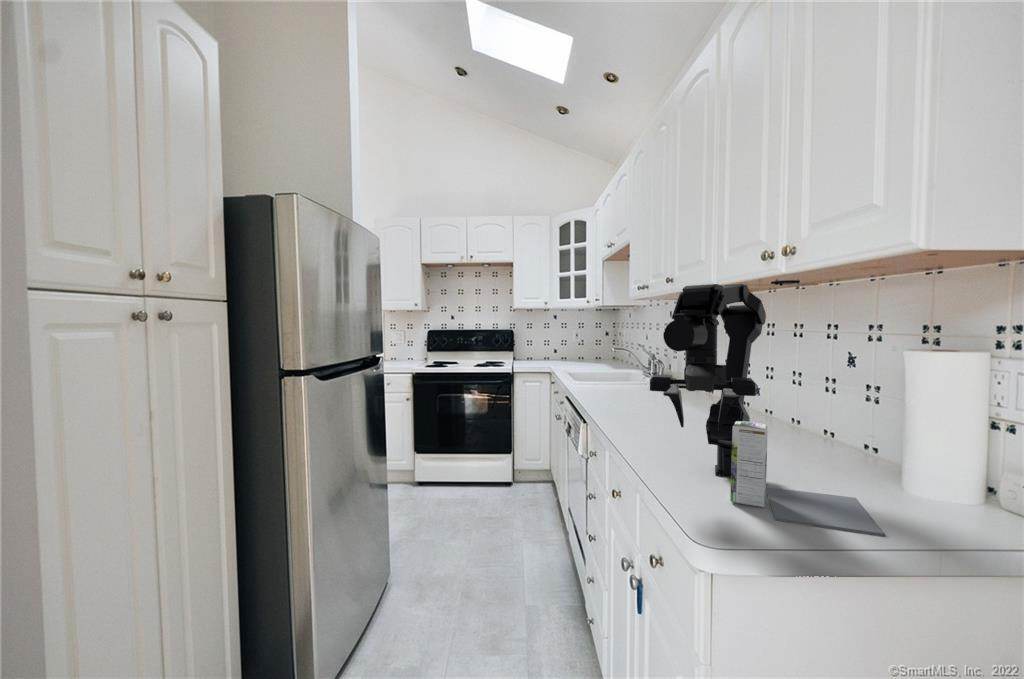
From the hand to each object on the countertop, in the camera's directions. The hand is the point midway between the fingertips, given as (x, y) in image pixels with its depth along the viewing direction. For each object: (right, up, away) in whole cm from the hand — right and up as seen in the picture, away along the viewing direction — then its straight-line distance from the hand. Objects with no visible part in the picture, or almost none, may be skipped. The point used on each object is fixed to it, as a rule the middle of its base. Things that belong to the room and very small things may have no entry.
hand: (700, 428), depth 89 cm
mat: (+18, -13, -7) cm, 23 cm away
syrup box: (+8, -13, -3) cm, 16 cm away
